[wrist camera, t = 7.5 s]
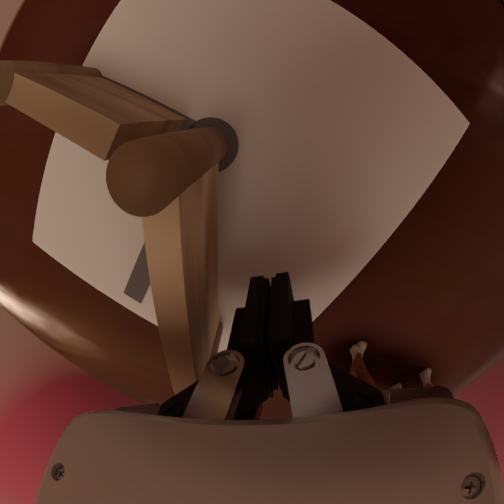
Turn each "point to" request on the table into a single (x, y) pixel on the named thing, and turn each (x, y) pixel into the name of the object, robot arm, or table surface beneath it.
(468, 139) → the table surface
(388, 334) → the table surface
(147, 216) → the fence panel
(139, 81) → the card
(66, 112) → the fixed fence section
